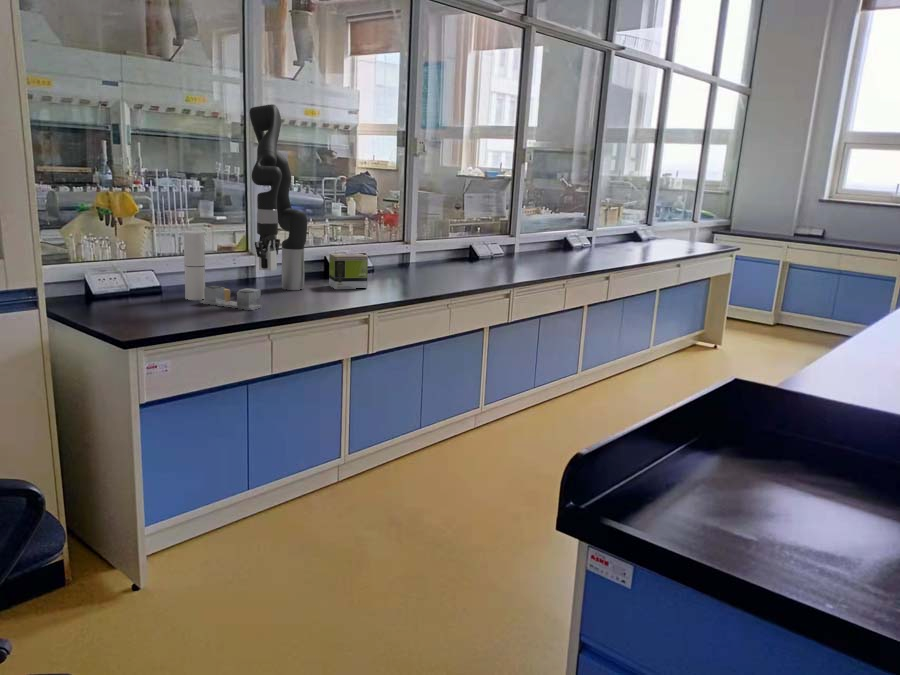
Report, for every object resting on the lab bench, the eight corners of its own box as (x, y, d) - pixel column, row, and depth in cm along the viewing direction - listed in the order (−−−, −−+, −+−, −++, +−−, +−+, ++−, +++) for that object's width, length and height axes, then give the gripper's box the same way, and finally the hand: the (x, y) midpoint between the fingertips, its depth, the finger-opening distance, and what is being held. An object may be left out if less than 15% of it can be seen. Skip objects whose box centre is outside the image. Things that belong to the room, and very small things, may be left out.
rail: (210, 300, 258) (210, 284, 257) (261, 308, 252) (261, 291, 250) (200, 303, 253) (200, 286, 251) (251, 310, 246) (251, 293, 245)
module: (265, 268, 261) (264, 249, 259) (276, 269, 260) (276, 250, 258) (259, 269, 257) (258, 250, 255) (270, 270, 256) (270, 251, 254)
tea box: (361, 285, 312) (362, 253, 309) (367, 289, 303) (368, 256, 300) (328, 285, 306) (329, 252, 303) (333, 289, 297) (334, 255, 294)
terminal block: (223, 298, 265) (223, 288, 264) (230, 299, 263) (230, 289, 262) (217, 299, 262) (216, 288, 261) (223, 300, 260) (223, 290, 259)
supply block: (246, 296, 272) (246, 287, 271) (260, 298, 270) (260, 289, 269) (238, 299, 266) (238, 290, 265) (252, 300, 265) (252, 291, 264)
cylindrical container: (186, 300, 256) (184, 233, 250) (184, 296, 262) (182, 230, 256) (206, 300, 259) (205, 233, 253) (203, 296, 265) (202, 231, 259)
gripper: (269, 219, 262) (269, 264, 266) (247, 222, 248) (248, 269, 253) (286, 221, 259) (286, 266, 264) (265, 223, 246) (266, 271, 251)
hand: (267, 267), depth 258 cm, fingers closed on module, 4 cm apart
